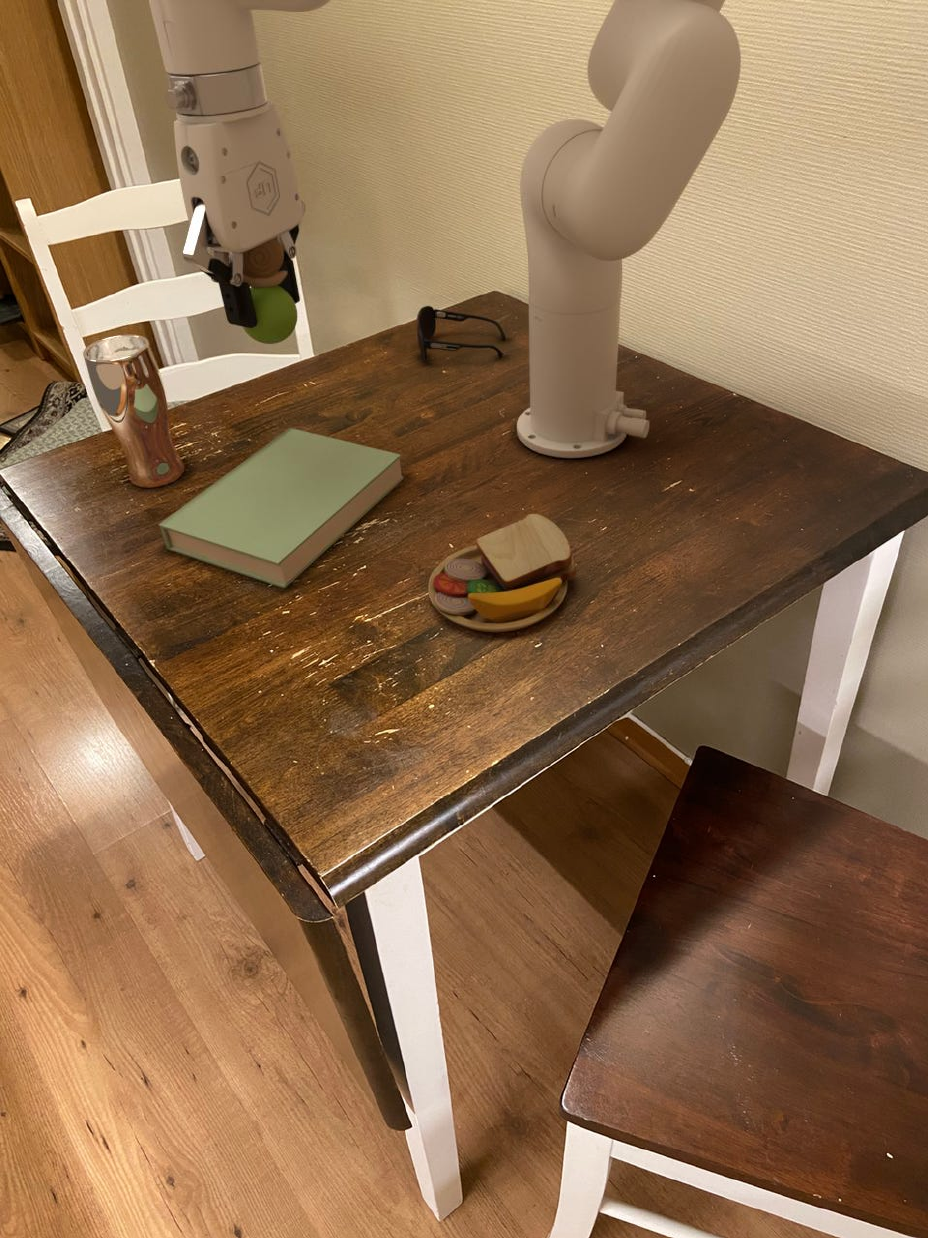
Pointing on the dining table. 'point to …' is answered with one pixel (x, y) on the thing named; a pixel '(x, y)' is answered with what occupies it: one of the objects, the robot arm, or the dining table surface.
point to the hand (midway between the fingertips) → (264, 310)
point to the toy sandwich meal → (505, 577)
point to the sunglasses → (428, 326)
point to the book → (283, 506)
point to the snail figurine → (268, 293)
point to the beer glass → (135, 407)
